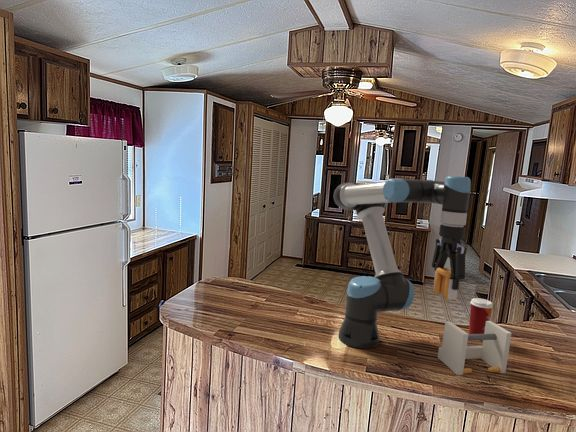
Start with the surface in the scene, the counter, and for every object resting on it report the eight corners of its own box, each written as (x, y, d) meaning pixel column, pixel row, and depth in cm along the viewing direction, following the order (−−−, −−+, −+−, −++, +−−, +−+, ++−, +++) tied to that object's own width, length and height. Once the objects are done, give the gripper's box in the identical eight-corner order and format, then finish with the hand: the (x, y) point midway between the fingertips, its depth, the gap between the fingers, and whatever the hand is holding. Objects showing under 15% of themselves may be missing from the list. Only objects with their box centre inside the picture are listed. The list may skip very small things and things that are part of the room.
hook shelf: (457, 375, 129) (463, 334, 127) (437, 357, 140) (442, 319, 138) (505, 373, 132) (511, 333, 130) (481, 356, 143) (487, 319, 142)
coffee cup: (490, 342, 155) (496, 306, 153) (468, 339, 157) (473, 303, 155) (484, 333, 164) (489, 299, 162) (463, 330, 165) (468, 296, 163)
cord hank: (456, 300, 125) (460, 273, 124) (445, 300, 125) (448, 273, 123) (443, 292, 133) (446, 267, 132) (432, 292, 132) (435, 266, 131)
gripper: (484, 231, 116) (474, 305, 119) (445, 220, 137) (438, 285, 139) (461, 230, 115) (451, 305, 118) (425, 219, 135) (418, 284, 138)
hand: (444, 294), depth 129 cm, fingers closed on cord hank, 8 cm apart
